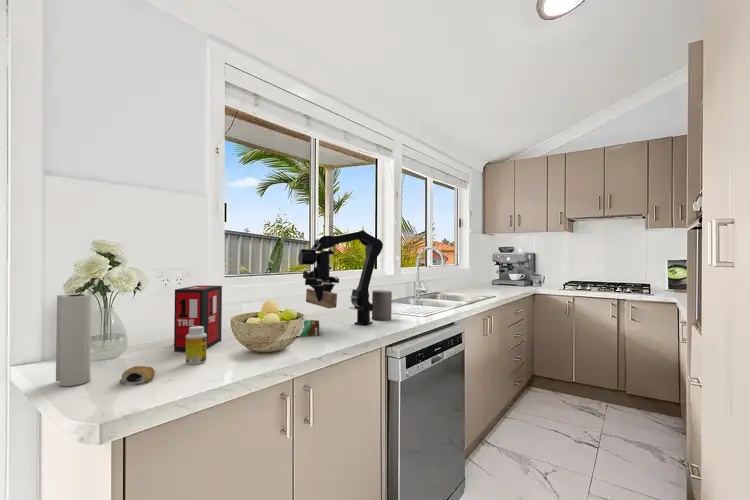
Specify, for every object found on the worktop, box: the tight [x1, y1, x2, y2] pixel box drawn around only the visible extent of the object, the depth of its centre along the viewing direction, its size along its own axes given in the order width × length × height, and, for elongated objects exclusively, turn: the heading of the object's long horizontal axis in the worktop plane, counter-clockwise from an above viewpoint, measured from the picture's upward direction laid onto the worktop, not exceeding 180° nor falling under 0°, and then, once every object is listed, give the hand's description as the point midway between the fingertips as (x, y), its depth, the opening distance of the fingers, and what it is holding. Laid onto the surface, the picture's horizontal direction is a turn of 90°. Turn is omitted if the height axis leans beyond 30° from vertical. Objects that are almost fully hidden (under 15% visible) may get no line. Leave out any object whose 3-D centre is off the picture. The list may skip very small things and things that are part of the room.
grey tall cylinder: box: [55, 293, 92, 387], centre depth 97 cm, size 7×6×21 cm
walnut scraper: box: [305, 287, 338, 309], centre depth 174 cm, size 4×16×6 cm, turn 47°
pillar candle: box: [371, 289, 393, 321], centre depth 196 cm, size 10×10×15 cm
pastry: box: [119, 365, 155, 387], centre depth 100 cm, size 9×7×4 cm
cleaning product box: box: [173, 285, 223, 353], centre depth 136 cm, size 16×9×20 cm, turn 0°
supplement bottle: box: [185, 326, 208, 365], centre depth 116 cm, size 6×6×10 cm
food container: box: [299, 319, 320, 337], centre depth 159 cm, size 12×6×10 cm
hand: (322, 300), depth 173 cm, fingers closed on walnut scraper, 5 cm apart
